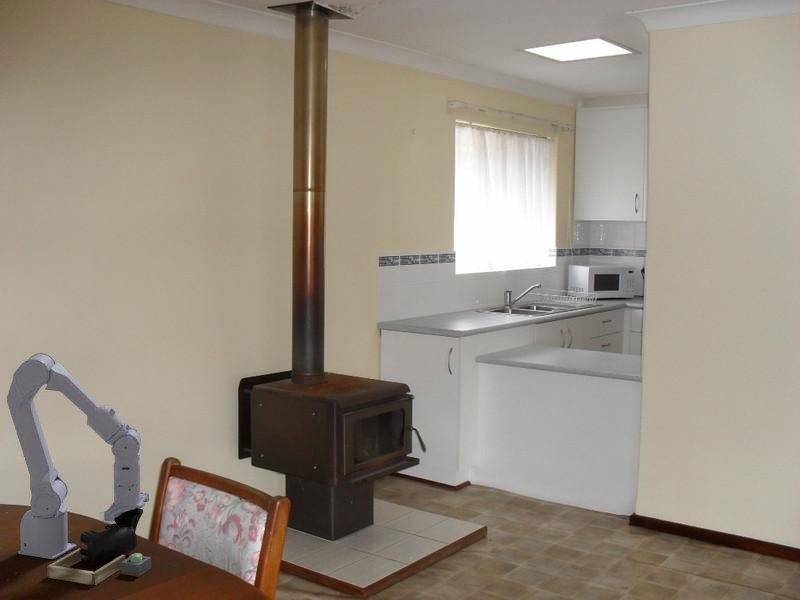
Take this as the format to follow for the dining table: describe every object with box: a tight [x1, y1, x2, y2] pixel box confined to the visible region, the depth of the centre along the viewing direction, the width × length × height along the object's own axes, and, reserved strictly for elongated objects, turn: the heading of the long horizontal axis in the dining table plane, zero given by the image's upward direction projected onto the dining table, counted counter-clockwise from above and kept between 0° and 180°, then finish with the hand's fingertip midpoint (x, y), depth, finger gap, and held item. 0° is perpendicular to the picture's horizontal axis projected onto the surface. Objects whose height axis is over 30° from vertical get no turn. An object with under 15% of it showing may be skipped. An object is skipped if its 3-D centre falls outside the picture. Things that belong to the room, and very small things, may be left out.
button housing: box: [120, 555, 152, 578], centre depth 182 cm, size 4×4×2 cm
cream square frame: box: [46, 547, 127, 586], centre depth 181 cm, size 12×10×2 cm
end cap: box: [79, 522, 138, 566], centre depth 187 cm, size 10×7×7 cm
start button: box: [129, 552, 143, 563], centre depth 182 cm, size 2×2×3 cm
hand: (127, 541), depth 195 cm, fingers closed
